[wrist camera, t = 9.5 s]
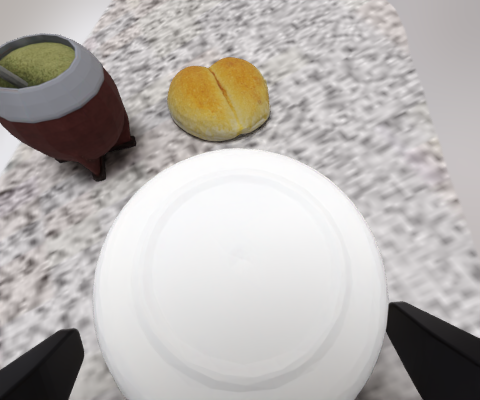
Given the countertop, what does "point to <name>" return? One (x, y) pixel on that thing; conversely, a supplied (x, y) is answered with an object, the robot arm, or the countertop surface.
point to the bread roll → (219, 99)
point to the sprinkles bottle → (240, 284)
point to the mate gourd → (61, 101)
